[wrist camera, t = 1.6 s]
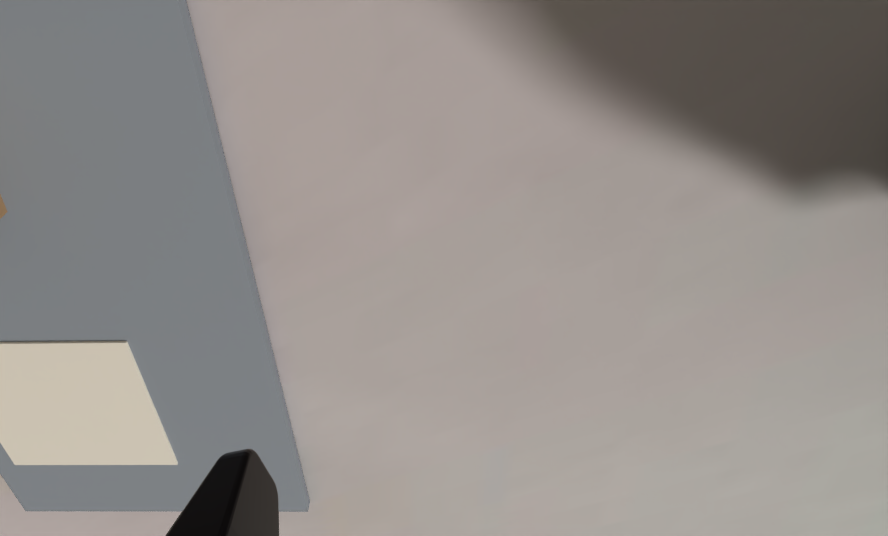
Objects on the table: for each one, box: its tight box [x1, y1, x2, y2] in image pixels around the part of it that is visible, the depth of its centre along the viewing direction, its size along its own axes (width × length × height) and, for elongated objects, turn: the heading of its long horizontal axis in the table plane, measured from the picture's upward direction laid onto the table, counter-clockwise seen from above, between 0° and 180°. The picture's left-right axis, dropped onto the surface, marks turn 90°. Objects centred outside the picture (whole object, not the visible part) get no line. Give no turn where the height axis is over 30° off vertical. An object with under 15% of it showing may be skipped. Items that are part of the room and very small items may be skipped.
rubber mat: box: [0, 0, 310, 512], centre depth 23 cm, size 26×13×1 cm, turn 2°
